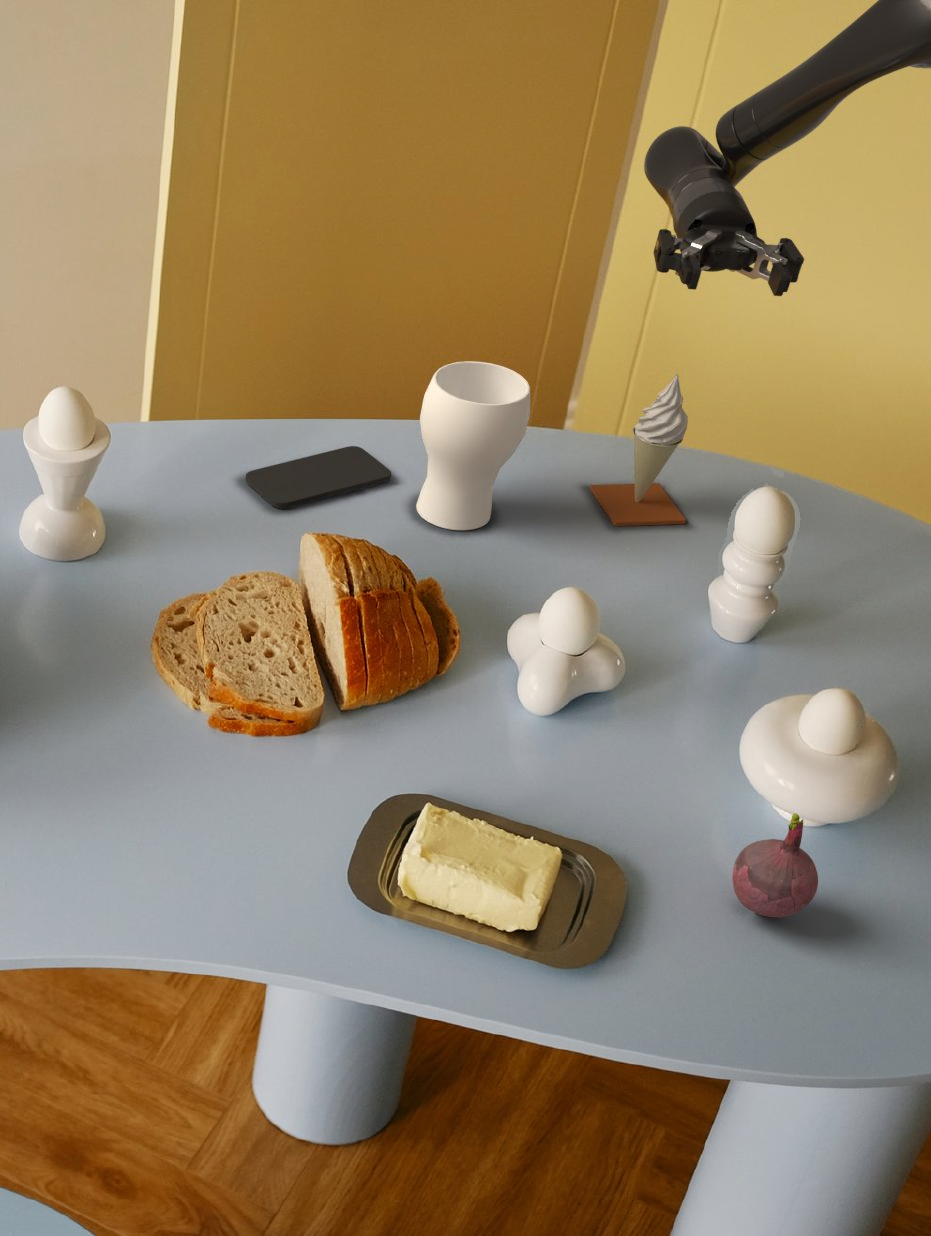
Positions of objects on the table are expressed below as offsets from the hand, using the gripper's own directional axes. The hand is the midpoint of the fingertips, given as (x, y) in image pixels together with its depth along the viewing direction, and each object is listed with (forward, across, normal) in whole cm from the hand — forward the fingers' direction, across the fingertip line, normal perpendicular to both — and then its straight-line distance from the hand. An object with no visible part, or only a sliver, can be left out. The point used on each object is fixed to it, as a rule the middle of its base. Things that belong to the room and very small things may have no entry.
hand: (738, 284), depth 170 cm
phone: (+11, -40, +21) cm, 46 cm away
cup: (+15, -26, +21) cm, 37 cm away
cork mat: (+10, -6, +21) cm, 24 cm away
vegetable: (+72, -5, +21) cm, 75 cm away
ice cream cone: (+10, -6, +21) cm, 24 cm away
